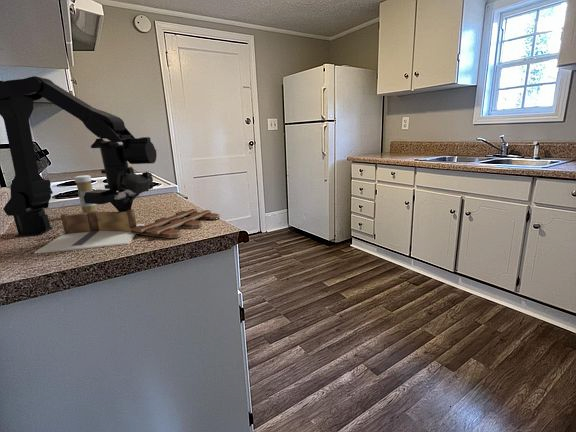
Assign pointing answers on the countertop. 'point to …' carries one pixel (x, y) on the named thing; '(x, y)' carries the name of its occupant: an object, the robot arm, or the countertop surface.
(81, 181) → the sprinkles bottle
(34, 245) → the countertop surface
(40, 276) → the countertop surface
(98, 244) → the card
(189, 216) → the decorative fence
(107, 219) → the gate panel
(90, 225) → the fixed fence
